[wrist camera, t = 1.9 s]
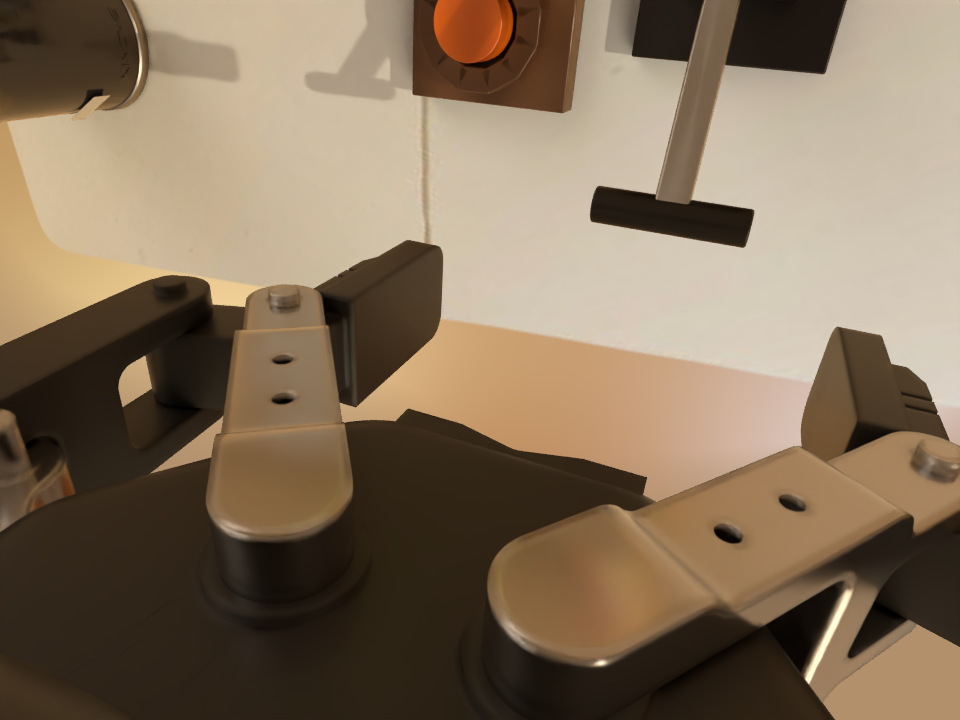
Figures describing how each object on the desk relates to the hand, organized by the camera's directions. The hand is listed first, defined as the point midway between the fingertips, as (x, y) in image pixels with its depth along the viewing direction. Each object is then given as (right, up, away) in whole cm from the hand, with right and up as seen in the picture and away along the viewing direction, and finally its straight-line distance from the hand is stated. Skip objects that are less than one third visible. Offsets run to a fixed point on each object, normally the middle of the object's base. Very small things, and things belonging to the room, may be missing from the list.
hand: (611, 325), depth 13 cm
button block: (-2, +18, +22) cm, 28 cm away
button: (-3, +16, +19) cm, 25 cm away
